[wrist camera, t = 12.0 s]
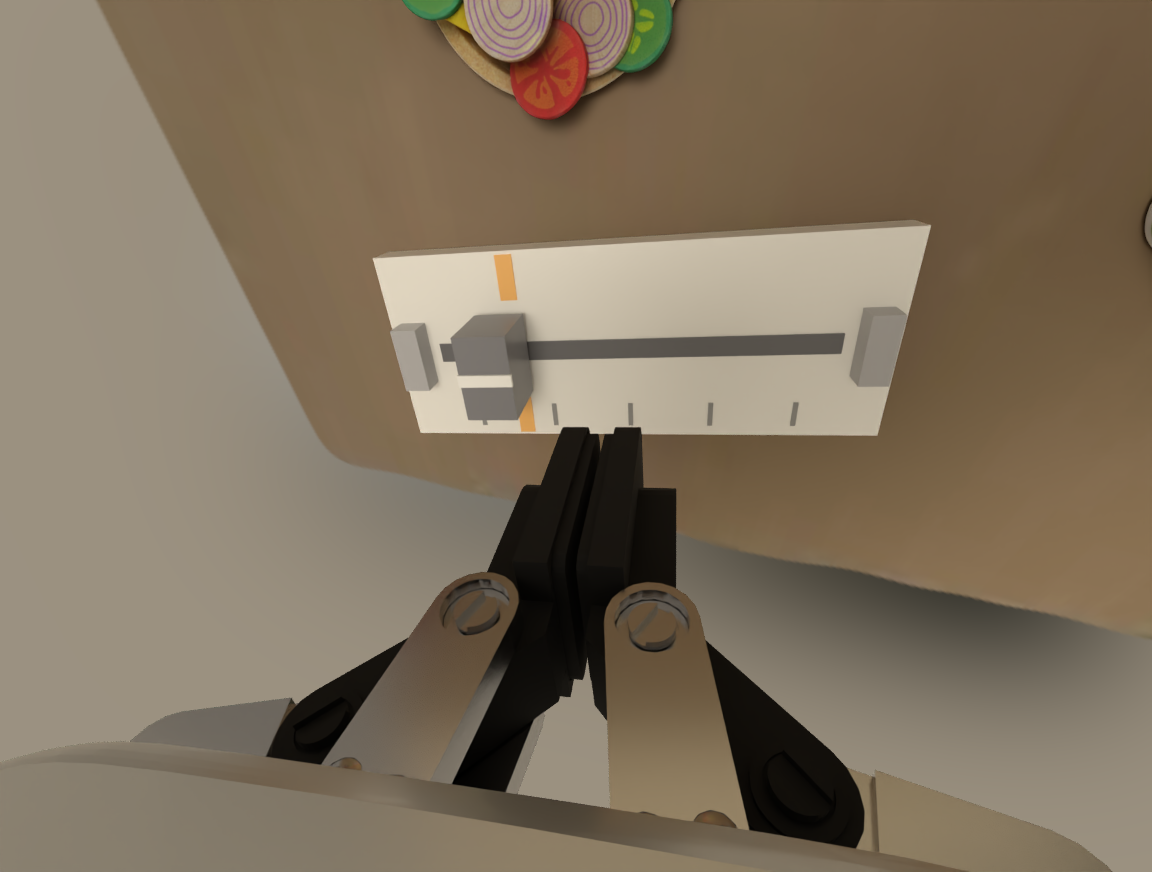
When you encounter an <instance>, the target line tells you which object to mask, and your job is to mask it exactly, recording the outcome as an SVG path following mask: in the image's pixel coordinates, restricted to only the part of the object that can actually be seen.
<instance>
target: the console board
mask: <svg viewBox="0 0 1152 872" xmlns="http://www.w3.org/2000/svg"><path fill="white" fill-rule="evenodd" d="M930 228H931V225H929V224H926V223H923V222H920V221H917V220H900V221H883V222H867V223H851V224H834V225H818V226H802V227H785V228H769V229H753V230H736V231H720V232H704V233H687V234H671V235H655V236H639V237H622V238H606V239H590V240H573V241H557V242H541V243H524V244H508V245H492V246H475V247H459V248H443V249H426V250H410V251H394V252H387V253H385V254H382V255H380V256H377V257H375V258H373V261H374V264H375V268H376V272H377V275H378V279H379V282H380V286H381V290H382V293H383V297H384V301H385V304H386V308H387V312H388V315H389V319H390V323H391V326H392V330H391V331H390V333H391V337H392V340H393V344H394V348H395V351H396V355H397V358H398V362H399V366H400V369H401V373H402V376H403V380H404V384H405V387H406V391H409V392H410V395H411V399H412V403H413V406H414V410H415V414H416V417H417V421H418V425H419V428H420V432H421V433H541V434H560V432H561V430H562V428H563V427H588V428H589V430H590V434H614V429H615V427H641V432H642V434H706V435H870V436H877V435H878V431H879V427H880V423H881V419H882V415H883V411H884V407H885V403H886V400H887V396H888V392H889V388H890V384H891V380H892V376H893V372H894V368H895V364H896V361H897V357H898V353H899V349H900V345H901V341H902V337H903V333H904V329H905V325H906V322H907V318H908V314H909V310H910V306H911V302H912V298H913V294H914V290H915V286H916V283H917V279H918V275H919V271H920V267H921V263H922V259H923V255H924V251H925V247H926V244H927V240H928V236H929V232H930ZM497 314H523V318H524V326H525V333H526V340H527V348H528V355H529V362H530V370H531V377H532V384H533V392H532V394H531V396H530V398H529V400H528V402H527V403H526V405H525V407H524V409H523V411H522V413H521V415H520V417H519V419H518V420H468V417H467V413H466V408H465V403H464V399H463V394H462V390H461V388H459V385H458V380H457V375H458V371H457V366H456V362H455V357H454V353H453V348H452V343H451V339H450V338H451V337H452V336H453V335H454V334H455V333H456V332H457V331H458V330H460V329H461V328H462V327H463V326H464V325H465V324H466V323H467V322H468V321H469V320H470V319H471V318H472V317H473V316H474V315H497Z"/></svg>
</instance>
